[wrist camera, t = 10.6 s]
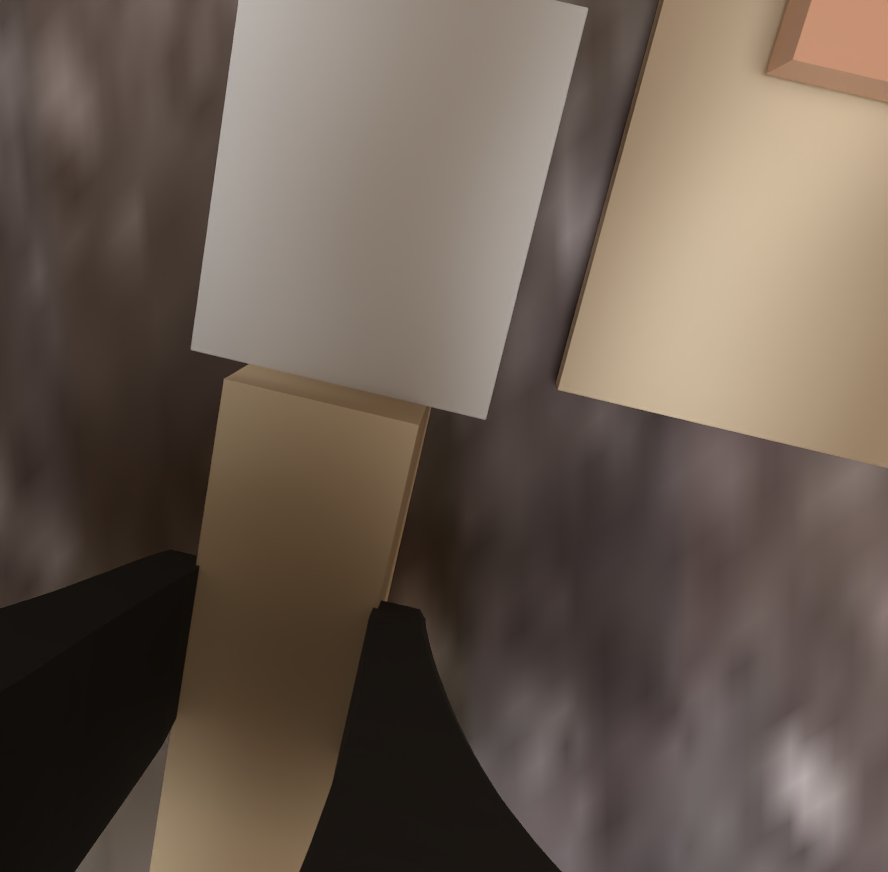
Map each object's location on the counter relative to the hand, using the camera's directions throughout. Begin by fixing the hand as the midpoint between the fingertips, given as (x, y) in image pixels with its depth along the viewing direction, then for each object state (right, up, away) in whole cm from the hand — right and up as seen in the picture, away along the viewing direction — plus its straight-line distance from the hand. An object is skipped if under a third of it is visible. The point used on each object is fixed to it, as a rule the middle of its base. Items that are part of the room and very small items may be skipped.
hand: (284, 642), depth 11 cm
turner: (0, +2, +2) cm, 3 cm away
